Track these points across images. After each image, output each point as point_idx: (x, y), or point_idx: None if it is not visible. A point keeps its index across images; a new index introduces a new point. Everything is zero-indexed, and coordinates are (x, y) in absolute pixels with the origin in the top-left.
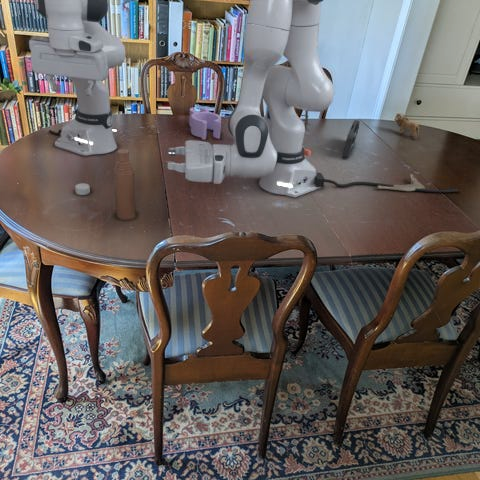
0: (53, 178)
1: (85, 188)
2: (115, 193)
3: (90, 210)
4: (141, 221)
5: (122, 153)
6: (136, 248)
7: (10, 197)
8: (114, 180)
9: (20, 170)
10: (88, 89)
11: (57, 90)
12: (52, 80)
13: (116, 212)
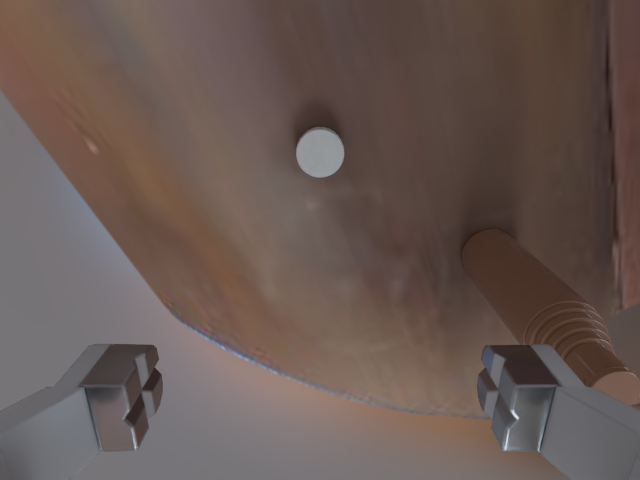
0: (177, 74)
1: (336, 166)
2: (491, 305)
3: (382, 253)
4: None
5: None
6: None
7: (132, 239)
8: (509, 328)
9: (27, 40)
10: (546, 452)
11: (158, 395)
12: (36, 455)
13: (467, 272)
